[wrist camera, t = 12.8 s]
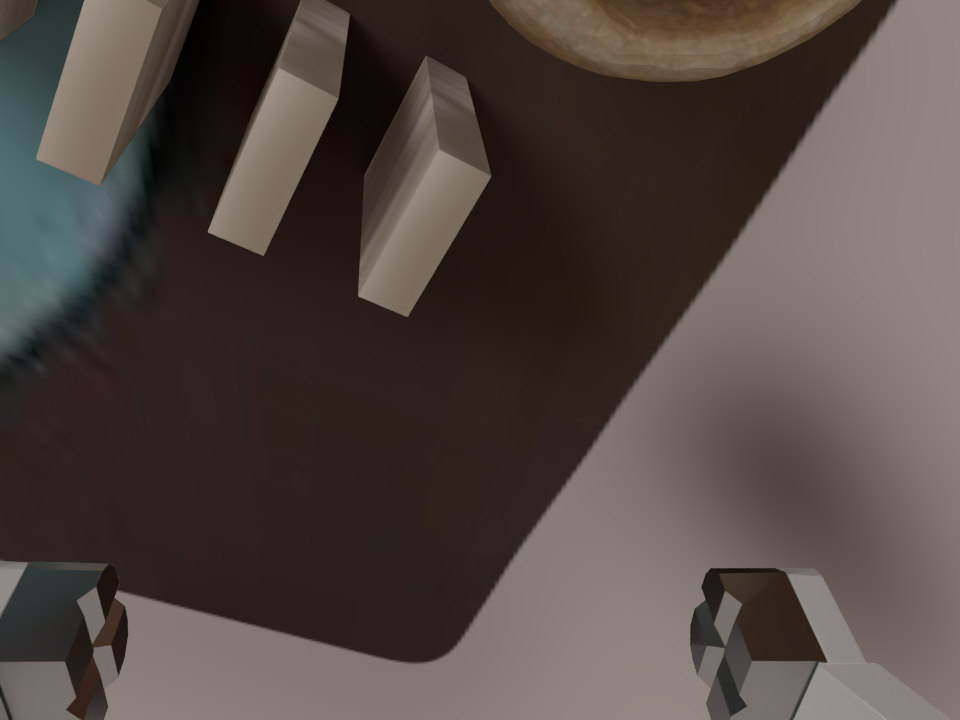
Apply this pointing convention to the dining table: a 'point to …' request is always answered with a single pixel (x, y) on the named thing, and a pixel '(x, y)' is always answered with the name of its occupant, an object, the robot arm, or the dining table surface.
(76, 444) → the dining table surface
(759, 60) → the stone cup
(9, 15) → the domino
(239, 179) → the domino
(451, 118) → the domino
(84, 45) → the domino
